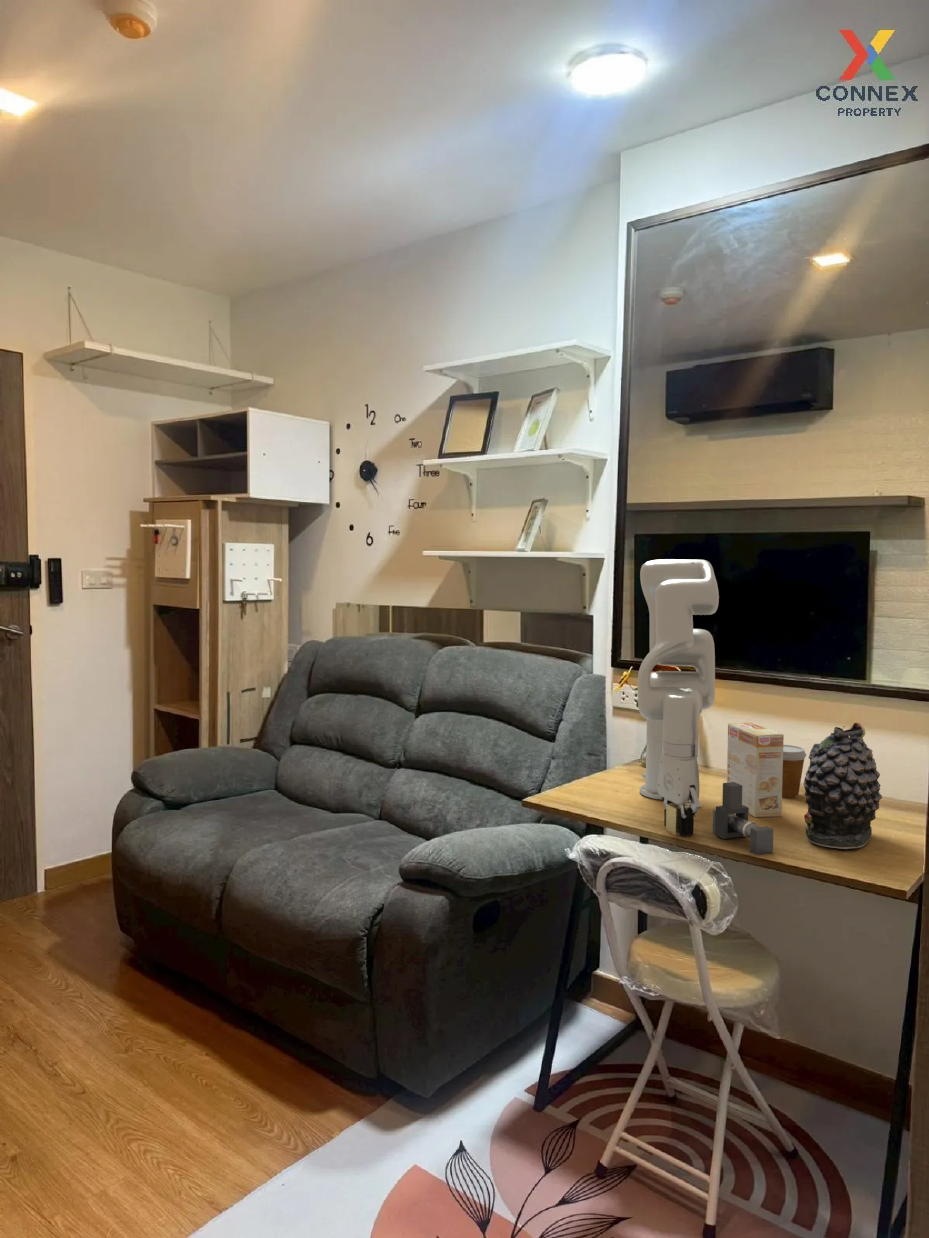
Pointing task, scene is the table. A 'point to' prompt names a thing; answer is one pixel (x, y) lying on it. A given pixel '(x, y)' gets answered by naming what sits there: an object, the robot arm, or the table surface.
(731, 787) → the grey bracket
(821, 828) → the pinecone sculpture
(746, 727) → the coffeecake box
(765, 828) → the grey shaft with blocks
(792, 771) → the disposable coffee cup
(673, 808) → the pale yellow rectangular block
